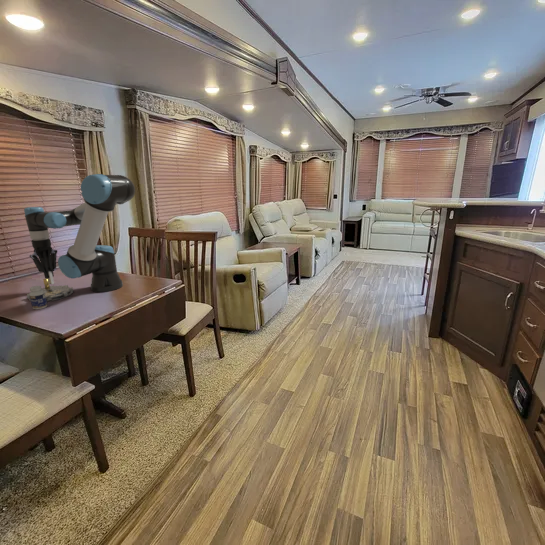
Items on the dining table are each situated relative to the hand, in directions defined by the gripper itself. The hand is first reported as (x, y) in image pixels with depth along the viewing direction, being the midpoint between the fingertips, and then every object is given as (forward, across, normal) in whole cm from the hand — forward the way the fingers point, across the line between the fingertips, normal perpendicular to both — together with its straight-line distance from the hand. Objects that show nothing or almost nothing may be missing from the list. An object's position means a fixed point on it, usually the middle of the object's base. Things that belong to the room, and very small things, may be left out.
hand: (51, 283), depth 153 cm
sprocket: (+4, +6, +6) cm, 9 cm away
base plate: (+4, +6, +6) cm, 9 cm away
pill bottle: (+4, +18, +15) cm, 24 cm away
